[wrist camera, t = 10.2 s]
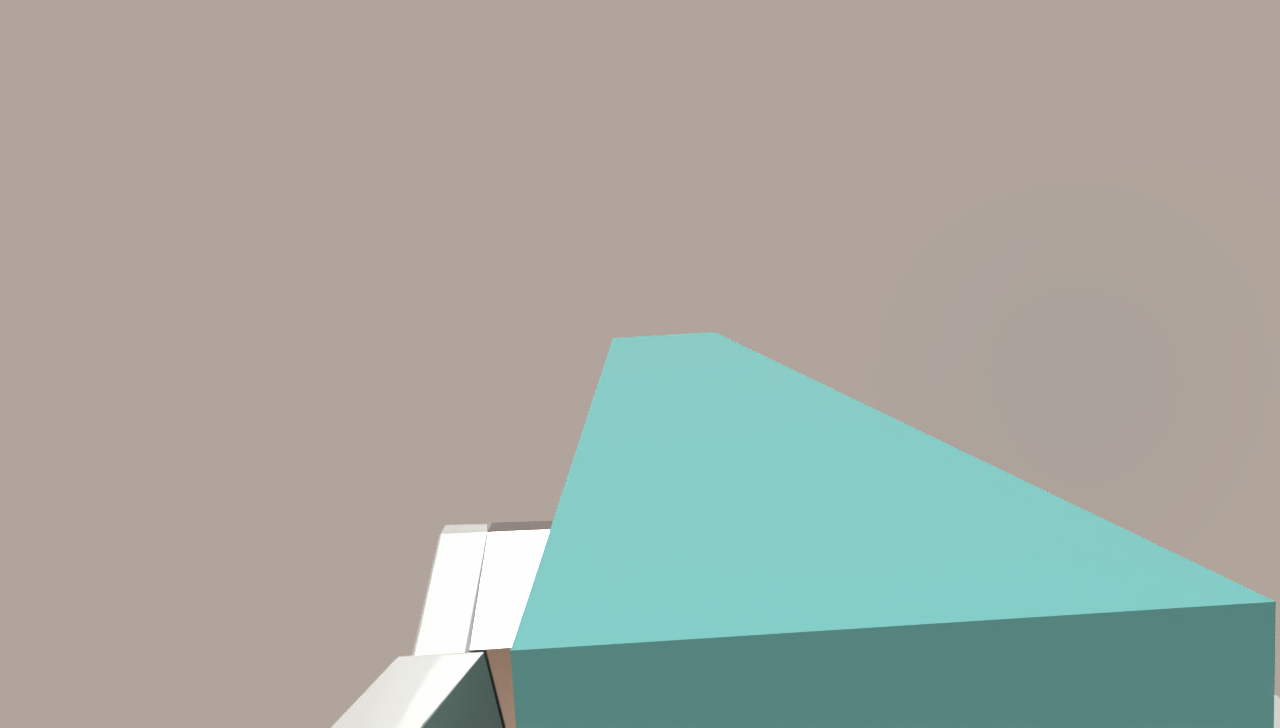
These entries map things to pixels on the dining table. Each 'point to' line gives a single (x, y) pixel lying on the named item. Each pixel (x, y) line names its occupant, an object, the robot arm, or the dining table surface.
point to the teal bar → (850, 576)
